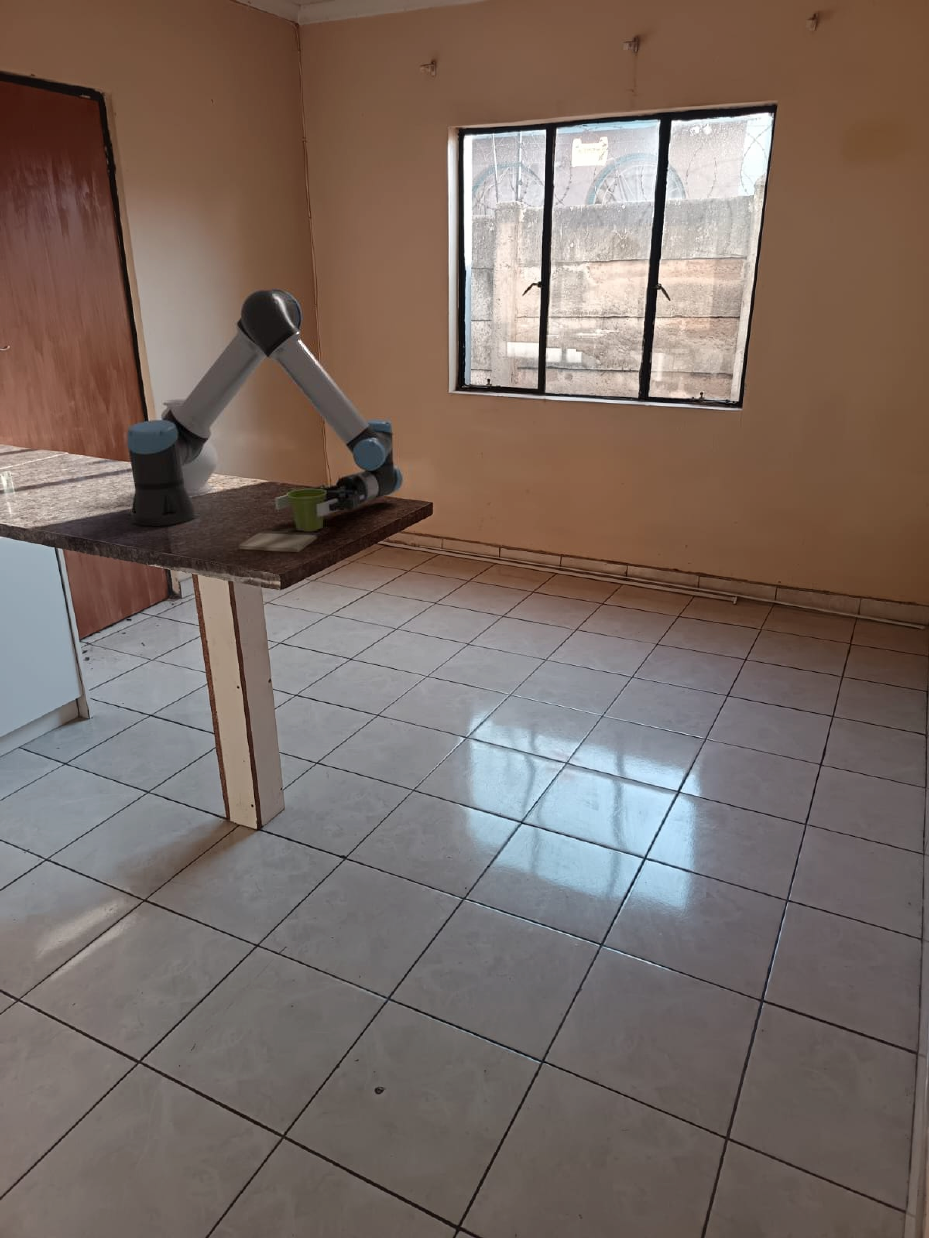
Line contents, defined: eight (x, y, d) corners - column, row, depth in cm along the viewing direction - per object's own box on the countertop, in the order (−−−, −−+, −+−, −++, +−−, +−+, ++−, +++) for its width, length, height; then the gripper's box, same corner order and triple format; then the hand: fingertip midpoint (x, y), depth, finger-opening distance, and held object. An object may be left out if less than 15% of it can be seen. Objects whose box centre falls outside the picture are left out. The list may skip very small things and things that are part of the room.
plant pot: (291, 535, 200) (287, 499, 197) (287, 525, 209) (284, 490, 206) (331, 532, 202) (328, 495, 199) (326, 522, 211) (324, 487, 208)
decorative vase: (207, 481, 258) (197, 395, 249) (231, 491, 244) (220, 401, 235) (147, 490, 248) (134, 401, 239) (168, 501, 235) (155, 407, 225)
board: (238, 549, 191) (238, 545, 190) (262, 534, 202) (262, 530, 201) (298, 552, 188) (297, 548, 187) (318, 537, 199) (318, 533, 198)
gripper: (395, 509, 213) (338, 529, 196) (320, 498, 225) (260, 516, 208) (394, 479, 210) (336, 497, 193) (318, 469, 222) (257, 485, 206)
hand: (296, 507), depth 201 cm, fingers open, 12 cm apart
